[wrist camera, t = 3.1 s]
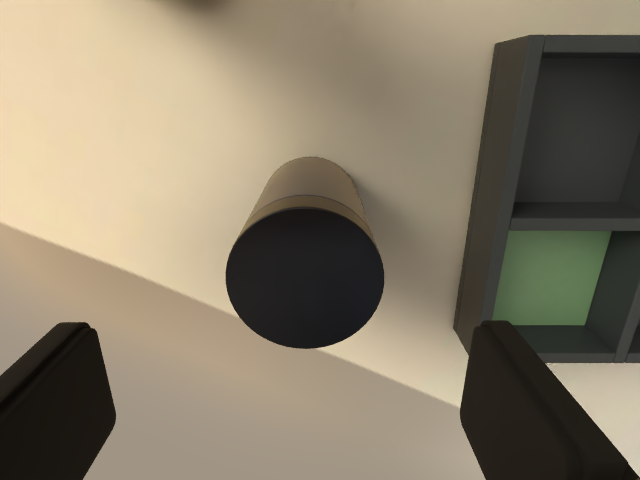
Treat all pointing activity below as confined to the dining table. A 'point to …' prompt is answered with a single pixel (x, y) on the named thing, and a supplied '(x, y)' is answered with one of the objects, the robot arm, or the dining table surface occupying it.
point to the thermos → (306, 259)
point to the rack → (558, 200)
